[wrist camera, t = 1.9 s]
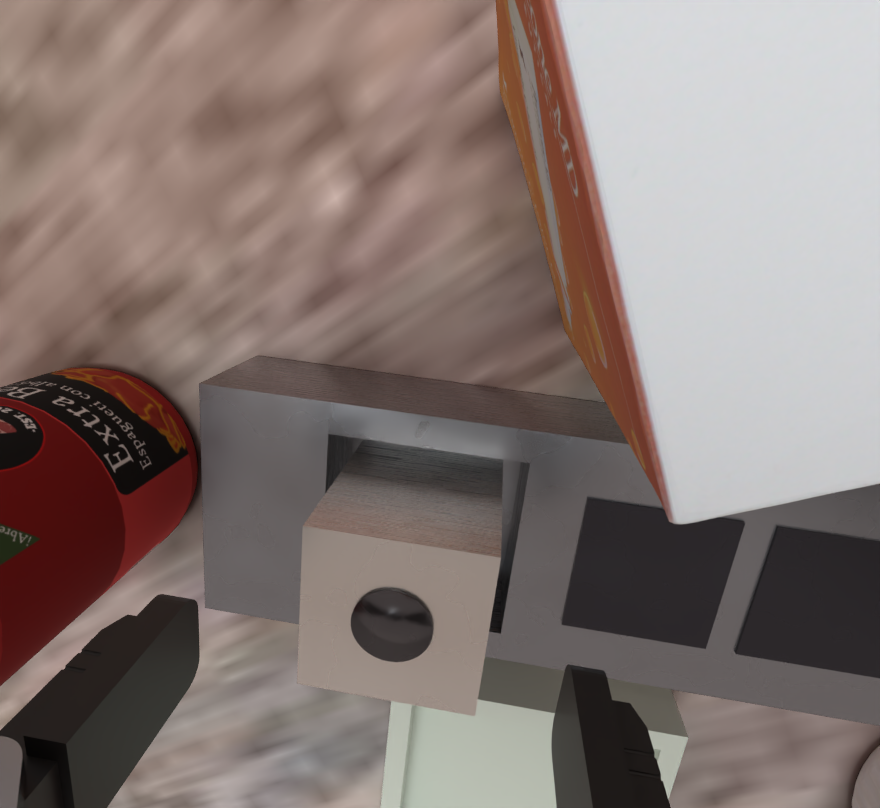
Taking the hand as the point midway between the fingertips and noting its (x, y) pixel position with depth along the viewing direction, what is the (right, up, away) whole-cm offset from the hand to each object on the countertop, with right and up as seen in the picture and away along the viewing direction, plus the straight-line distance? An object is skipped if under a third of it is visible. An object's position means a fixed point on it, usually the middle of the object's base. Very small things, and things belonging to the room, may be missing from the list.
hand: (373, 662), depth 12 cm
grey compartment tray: (+5, +2, +9) cm, 10 cm away
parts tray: (+5, -10, +13) cm, 17 cm away
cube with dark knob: (+1, +2, +8) cm, 9 cm away
